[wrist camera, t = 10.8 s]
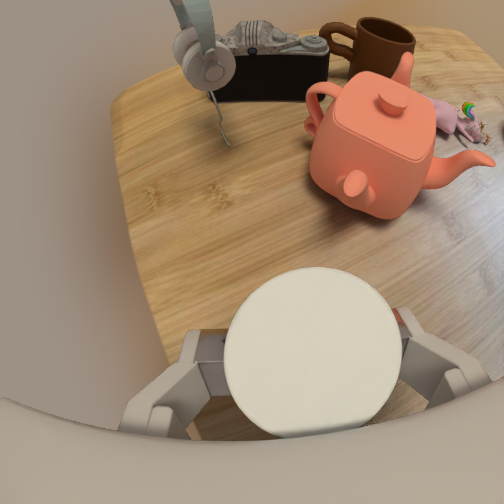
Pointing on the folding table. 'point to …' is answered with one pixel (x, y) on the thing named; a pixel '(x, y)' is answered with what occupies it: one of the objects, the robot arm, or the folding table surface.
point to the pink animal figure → (458, 120)
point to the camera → (272, 64)
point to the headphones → (201, 49)
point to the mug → (371, 45)
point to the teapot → (379, 143)
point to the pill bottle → (312, 353)
